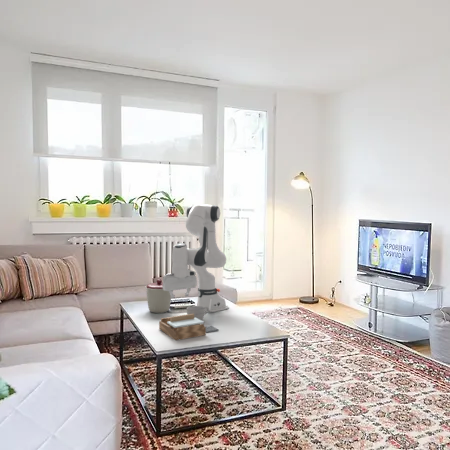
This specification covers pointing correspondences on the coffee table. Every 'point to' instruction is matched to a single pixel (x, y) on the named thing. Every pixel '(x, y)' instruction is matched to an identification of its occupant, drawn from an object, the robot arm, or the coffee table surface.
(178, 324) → the lid
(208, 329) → the tile
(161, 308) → the canister
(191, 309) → the teacup
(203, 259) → the robot arm
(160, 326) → the cold frame
